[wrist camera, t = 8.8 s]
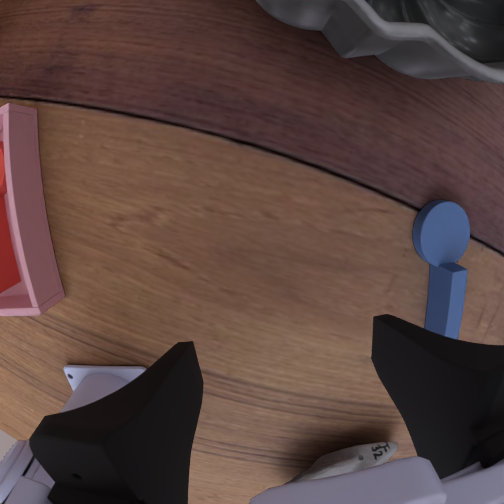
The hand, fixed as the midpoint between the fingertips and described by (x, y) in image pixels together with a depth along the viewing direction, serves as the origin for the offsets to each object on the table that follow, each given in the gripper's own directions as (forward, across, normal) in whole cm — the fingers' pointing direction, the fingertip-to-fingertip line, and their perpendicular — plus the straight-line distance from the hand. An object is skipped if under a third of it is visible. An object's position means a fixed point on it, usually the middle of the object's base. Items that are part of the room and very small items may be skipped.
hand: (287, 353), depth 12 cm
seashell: (+9, -4, +20) cm, 22 cm away
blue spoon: (+8, -12, +2) cm, 15 cm away
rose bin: (+8, +20, -8) cm, 23 cm away
